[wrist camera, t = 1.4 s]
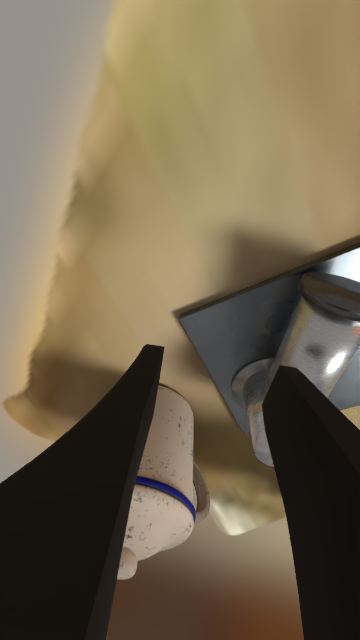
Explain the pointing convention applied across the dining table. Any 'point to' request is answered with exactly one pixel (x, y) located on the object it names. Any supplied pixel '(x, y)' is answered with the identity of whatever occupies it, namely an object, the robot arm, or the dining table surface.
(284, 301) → the metal pipe fittings plate
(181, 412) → the teacup with lid
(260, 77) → the dining table surface
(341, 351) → the silver pipe
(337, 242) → the dining table surface
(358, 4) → the dining table surface
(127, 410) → the robot arm
